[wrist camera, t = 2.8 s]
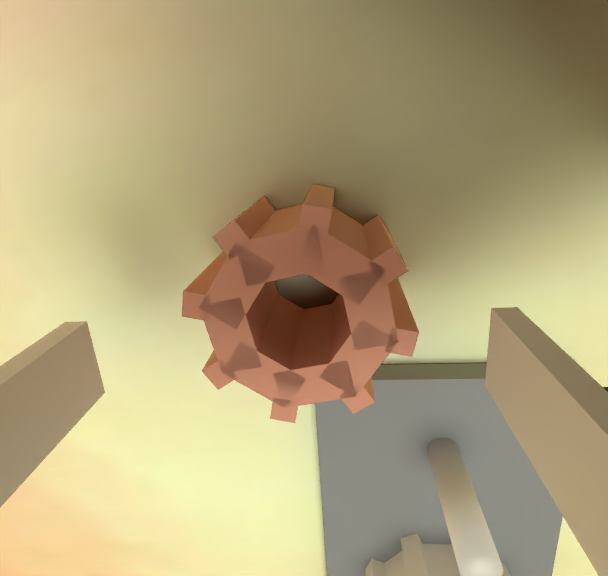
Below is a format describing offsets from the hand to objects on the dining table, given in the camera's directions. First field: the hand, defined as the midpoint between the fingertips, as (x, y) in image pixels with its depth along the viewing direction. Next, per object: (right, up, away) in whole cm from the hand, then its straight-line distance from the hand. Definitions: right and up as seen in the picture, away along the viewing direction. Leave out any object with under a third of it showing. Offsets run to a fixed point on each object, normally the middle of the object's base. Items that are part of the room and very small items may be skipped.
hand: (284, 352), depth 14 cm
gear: (+1, +3, +7) cm, 8 cm away
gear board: (+8, -11, +11) cm, 18 cm away
